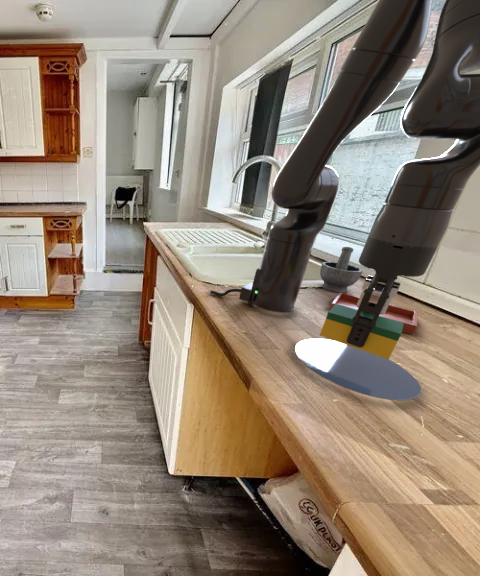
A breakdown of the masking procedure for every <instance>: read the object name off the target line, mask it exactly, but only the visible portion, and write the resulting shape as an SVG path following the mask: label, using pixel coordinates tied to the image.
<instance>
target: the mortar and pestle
mask: <svg viewBox="0 0 480 576" xmlns="http://www.w3.org/2000/svg"><path fill="white" fill-rule="evenodd" d="M353 252H354V248H352V247H350V246H343V247H342V248H341V253H340V254H339V257H338V260H337V261H323V262H322V263H321V266H320V268H319V269H320V270H319V275H320V279H321V280H322V281H323V282H324V284H323V283H322V284H321V288H323V289H325V290H328V291H332V292H335V293H340V292H341V293H347V290H348V287H350V286H353V285H354V284H355V283H357V282H358V281H359V279H360V278H361V276H362V273H363V268H360V267H358V266H356V265H352V264H349V263H350V259H351V256H352V253H353Z"/></svg>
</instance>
